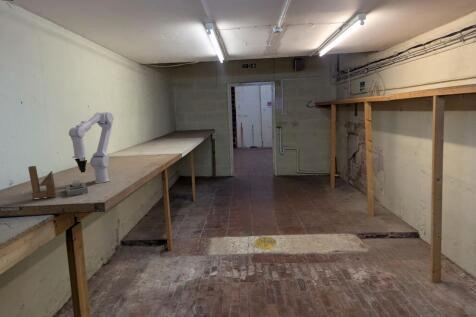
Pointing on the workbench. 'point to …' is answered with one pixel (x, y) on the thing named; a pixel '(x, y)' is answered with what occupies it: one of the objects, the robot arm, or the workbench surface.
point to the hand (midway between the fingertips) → (82, 171)
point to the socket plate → (76, 189)
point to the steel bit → (75, 182)
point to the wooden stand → (46, 182)
